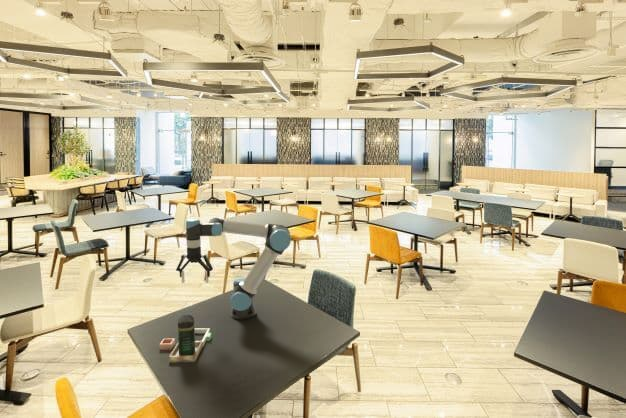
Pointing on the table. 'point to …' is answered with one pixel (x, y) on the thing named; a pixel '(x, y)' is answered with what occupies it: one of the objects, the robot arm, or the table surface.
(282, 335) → the table surface
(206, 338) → the frame
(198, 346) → the beige shallow box
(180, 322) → the coffee jar
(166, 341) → the dish
